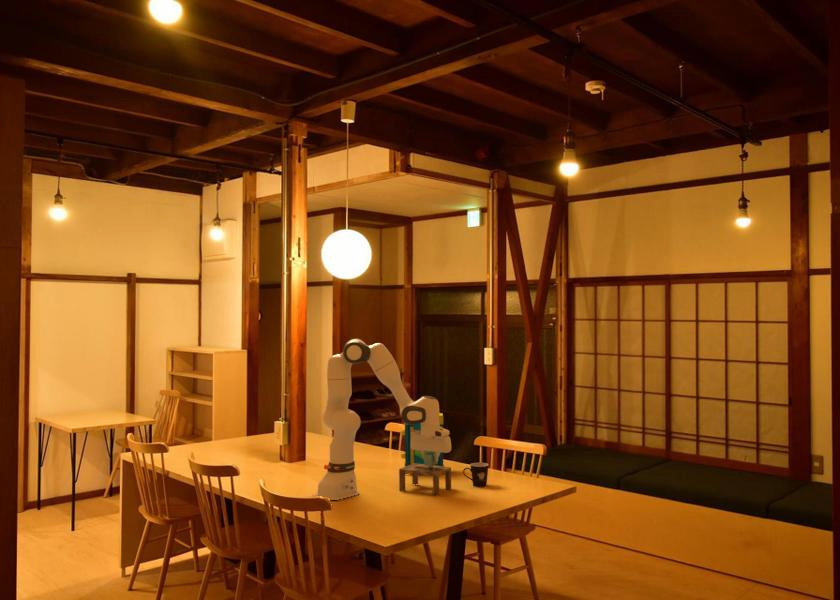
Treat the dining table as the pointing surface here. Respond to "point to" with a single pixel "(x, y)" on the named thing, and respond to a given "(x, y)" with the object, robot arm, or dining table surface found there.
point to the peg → (430, 460)
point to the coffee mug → (478, 474)
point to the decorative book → (416, 455)
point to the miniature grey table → (422, 469)
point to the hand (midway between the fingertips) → (430, 460)
